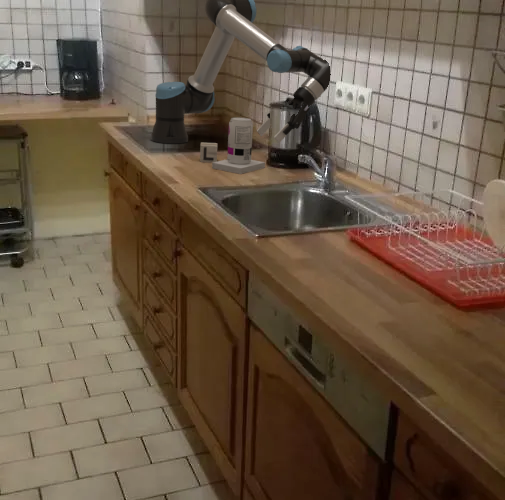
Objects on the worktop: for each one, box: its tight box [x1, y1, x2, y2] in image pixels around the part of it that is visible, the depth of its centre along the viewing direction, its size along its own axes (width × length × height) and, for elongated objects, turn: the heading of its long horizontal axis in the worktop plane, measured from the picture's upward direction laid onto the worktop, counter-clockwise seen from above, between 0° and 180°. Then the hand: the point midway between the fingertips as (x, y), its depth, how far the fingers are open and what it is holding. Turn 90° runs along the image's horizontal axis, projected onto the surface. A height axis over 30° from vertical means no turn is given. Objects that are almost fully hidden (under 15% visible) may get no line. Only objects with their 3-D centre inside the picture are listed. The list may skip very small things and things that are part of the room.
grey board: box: [211, 159, 266, 175], centre depth 236 cm, size 15×12×2 cm
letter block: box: [199, 142, 218, 164], centre depth 245 cm, size 6×6×6 cm
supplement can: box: [227, 117, 254, 164], centre depth 234 cm, size 8×8×15 cm
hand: (267, 136), depth 238 cm, fingers open, 13 cm apart
